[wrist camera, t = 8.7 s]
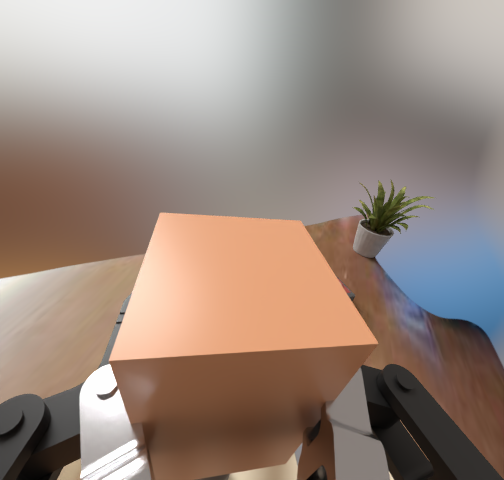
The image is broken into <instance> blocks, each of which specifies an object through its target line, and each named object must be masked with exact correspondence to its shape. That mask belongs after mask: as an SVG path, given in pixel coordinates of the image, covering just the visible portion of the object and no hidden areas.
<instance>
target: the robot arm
mask: <svg viewBox="0 0 504 480" xmlns="http://www.w3.org/2000/svg"><path fill="white" fill-rule="evenodd" d="M131 295H132V293H131V294H130V295H129V296H128V297H127V298H126V300H125V301H124V303H123V305H122V308H121V311H120V315H119V316H118V319H117V321H116V324H115V327H114V330H113V332H112V335H111V338H110V340H109V343H108V346H107V348H106V351H105V354H104V357H103V359H102V362H101V364H100V366H99V367H98V369H97V370H96V371H95V372H94V373H93V374H92V375H91V376H90V377H89V378H88V379H87V380H86V381H85V382H83V383H82V384H80V385H78V386H76V387H74V388H72V389H69V390H67V391H64V392H61V393H59V394H56V395H53V396H51V397H48V398H45V399H43V400H42V399H41V398H40V397H39V396H37V395H34V394H24V395H19V396H16V397H13V398H11V399H9V400H7V401H5V402H3V403H2V404H0V480H57V478H58V476H59V474H60V472H61V470H62V469H63V467H64V466H66V465H68V464H70V463H72V462H74V461H76V460H78V459H80V458H81V480H155V477H154V472H153V467H152V462H151V457H150V452H149V449H148V450H147V446H146V441H145V436H144V431H143V427H142V423H133V424H130V421H129V418H128V415H127V412H126V410H125V407H124V404H123V401H122V398H121V395H120V392H119V389H118V387H117V384H116V381H115V378H114V375H113V372H112V369H111V366H110V363H109V358H110V355H111V353H112V350H113V347H114V344H115V341H116V338H117V335H118V332H119V330H120V327H121V324H122V321H123V318H124V315H125V312H126V309H127V307H128V304H129V301H130V298H131ZM400 420H401V421H402V423H403V424H404V426H405V427H406V428H407V430H408V431H409V433H410V434H411V435H412V437H413V438H414V440H415V441H416V442H417V444H418V445H419V447H420V448H421V449H422V451H423V452H424V454H425V455H426V456H427V458H428V459H429V460H428V459H427V458H426V457H425V455H424V454H423V452H422V451H421V450H420V448H419V447H418V445H417V444H416V443H415V441H414V440H413V438H412V437H411V436H410V434H409V433H408V431H407V430H406V429H405V427H404V426H403V424H402V423H401V422H400ZM429 461H430V462H429ZM389 472H390V474H391V475H392V477H393V479H394V480H504V479H503V478H502V477H501V476H500V475H499V474H498V473H497V471H496V470H495V469H494V468H493V467H492V466H491V464H490V463H489V462H488V461H487V460H486V459H485V457H484V456H483V455H482V454H481V453H480V452H479V450H478V449H477V448H476V447H475V446H474V445H473V443H472V442H471V441H470V440H469V439H468V438H467V437H466V435H465V434H464V433H463V432H462V431H461V430H460V428H459V427H458V426H457V425H456V424H455V423H454V421H453V420H452V419H451V418H450V417H449V416H448V414H447V413H446V412H445V411H444V410H443V409H442V408H441V406H440V405H439V404H438V403H437V402H436V401H435V399H434V398H433V397H432V396H431V395H430V394H429V392H428V391H427V390H426V389H425V388H424V387H423V385H422V384H421V383H420V382H419V381H418V380H417V378H416V377H415V376H414V375H413V374H412V373H411V372H409V371H408V370H407V369H405V368H403V367H401V366H399V365H396V364H389V365H387V366H386V367H385V368H384V369H383V370H379V369H376V368H372V367H368V366H365V365H362V366H361V367H360V368H359V370H358V371H357V372H356V374H355V375H354V376H353V377H352V379H351V380H350V381H349V383H348V384H347V385H346V387H345V388H344V389H343V390H342V392H341V393H340V394H339V396H338V397H337V398H336V399H335V400H332V401H326V402H325V403H324V404H323V406H322V407H321V419H320V420H319V421H318V423H317V424H316V425H315V426H313V427H307V428H306V429H305V430H304V432H303V442H302V451H301V455H300V458H299V463H298V470H297V480H390V475H389Z"/></svg>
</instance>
